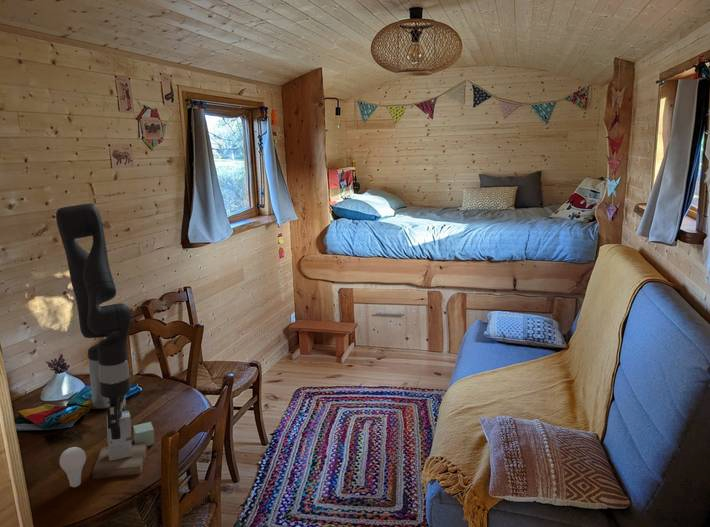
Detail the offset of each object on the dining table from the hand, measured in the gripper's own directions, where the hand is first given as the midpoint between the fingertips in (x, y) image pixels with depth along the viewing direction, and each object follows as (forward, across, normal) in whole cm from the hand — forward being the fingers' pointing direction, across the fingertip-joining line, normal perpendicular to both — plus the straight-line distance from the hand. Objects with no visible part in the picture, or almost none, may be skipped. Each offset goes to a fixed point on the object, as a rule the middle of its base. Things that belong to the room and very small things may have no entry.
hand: (118, 430), depth 148 cm
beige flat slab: (+11, 0, 0) cm, 11 cm away
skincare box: (+8, -1, 0) cm, 8 cm away
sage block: (+10, -10, +5) cm, 15 cm away
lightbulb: (+10, +8, -10) cm, 17 cm away
